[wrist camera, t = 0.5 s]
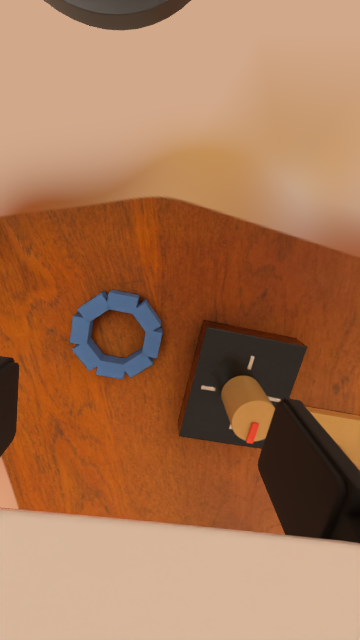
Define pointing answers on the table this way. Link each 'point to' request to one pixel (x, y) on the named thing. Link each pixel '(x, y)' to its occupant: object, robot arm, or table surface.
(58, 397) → the table surface
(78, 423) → the table surface
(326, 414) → the wooden peg stand
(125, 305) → the segmented ring
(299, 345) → the black dial base plate
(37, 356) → the table surface
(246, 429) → the rotary dial knob
